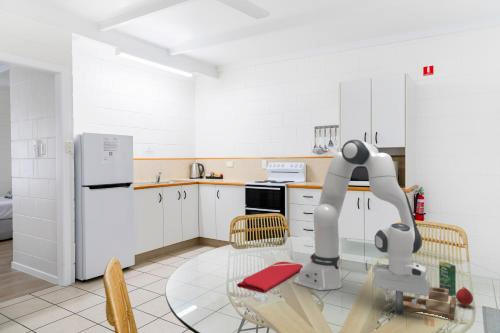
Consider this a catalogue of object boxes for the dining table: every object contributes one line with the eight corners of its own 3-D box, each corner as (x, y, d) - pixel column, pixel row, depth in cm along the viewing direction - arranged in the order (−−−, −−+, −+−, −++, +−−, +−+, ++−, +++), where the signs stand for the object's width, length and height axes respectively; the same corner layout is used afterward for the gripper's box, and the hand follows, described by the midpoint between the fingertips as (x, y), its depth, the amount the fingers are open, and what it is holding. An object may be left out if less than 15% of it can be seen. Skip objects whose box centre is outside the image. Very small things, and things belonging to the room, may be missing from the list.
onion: (466, 303, 148) (467, 284, 148) (476, 309, 142) (476, 289, 142) (453, 303, 148) (453, 284, 148) (461, 309, 142) (462, 289, 142)
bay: (398, 309, 142) (398, 296, 142) (403, 299, 152) (403, 287, 152) (454, 321, 131) (454, 307, 131) (455, 309, 141) (455, 297, 141)
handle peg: (395, 313, 138) (395, 287, 138) (396, 311, 140) (396, 285, 140) (402, 315, 136) (402, 288, 136) (403, 312, 138) (403, 286, 138)
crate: (425, 311, 138) (426, 291, 138) (428, 305, 145) (428, 285, 145) (449, 316, 134) (449, 295, 134) (450, 309, 141) (451, 289, 140)
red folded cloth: (236, 287, 167) (236, 279, 167) (278, 266, 202) (278, 259, 202) (265, 294, 159) (265, 285, 159) (303, 271, 193) (303, 264, 193)
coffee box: (438, 289, 164) (438, 260, 164) (444, 289, 165) (444, 260, 165) (449, 295, 156) (450, 265, 156) (456, 295, 157) (456, 265, 157)
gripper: (371, 264, 141) (371, 299, 141) (429, 272, 130) (429, 310, 130) (374, 261, 146) (374, 294, 146) (430, 268, 136) (430, 304, 136)
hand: (400, 302), depth 138 cm, fingers open, 8 cm apart
